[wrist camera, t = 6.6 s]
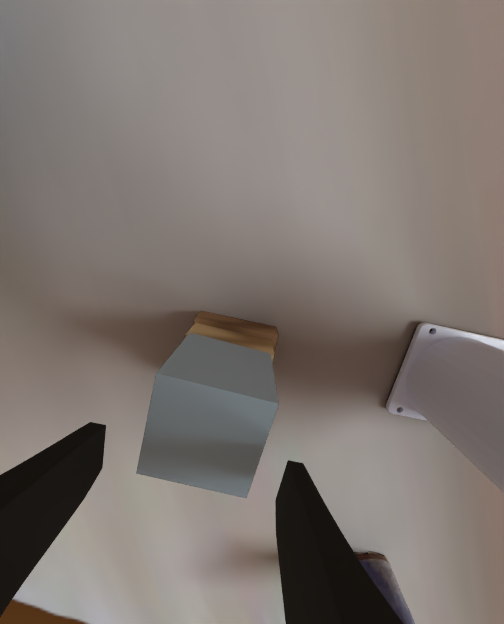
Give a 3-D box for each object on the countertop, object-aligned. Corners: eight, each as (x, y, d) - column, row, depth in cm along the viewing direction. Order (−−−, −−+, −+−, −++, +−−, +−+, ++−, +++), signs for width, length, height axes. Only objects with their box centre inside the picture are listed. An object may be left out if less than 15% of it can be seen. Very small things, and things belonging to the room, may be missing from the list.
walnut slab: (275, 325, 19) (278, 335, 17) (258, 390, 21) (259, 408, 18) (202, 309, 19) (194, 317, 17) (190, 376, 20) (181, 392, 18)
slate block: (270, 353, 14) (278, 403, 10) (248, 422, 16) (246, 498, 11) (189, 332, 14) (156, 373, 9) (173, 403, 15) (136, 473, 10)
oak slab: (271, 340, 17) (274, 355, 14) (253, 406, 18) (252, 430, 16) (195, 322, 17) (185, 334, 14) (182, 390, 18) (170, 412, 15)
